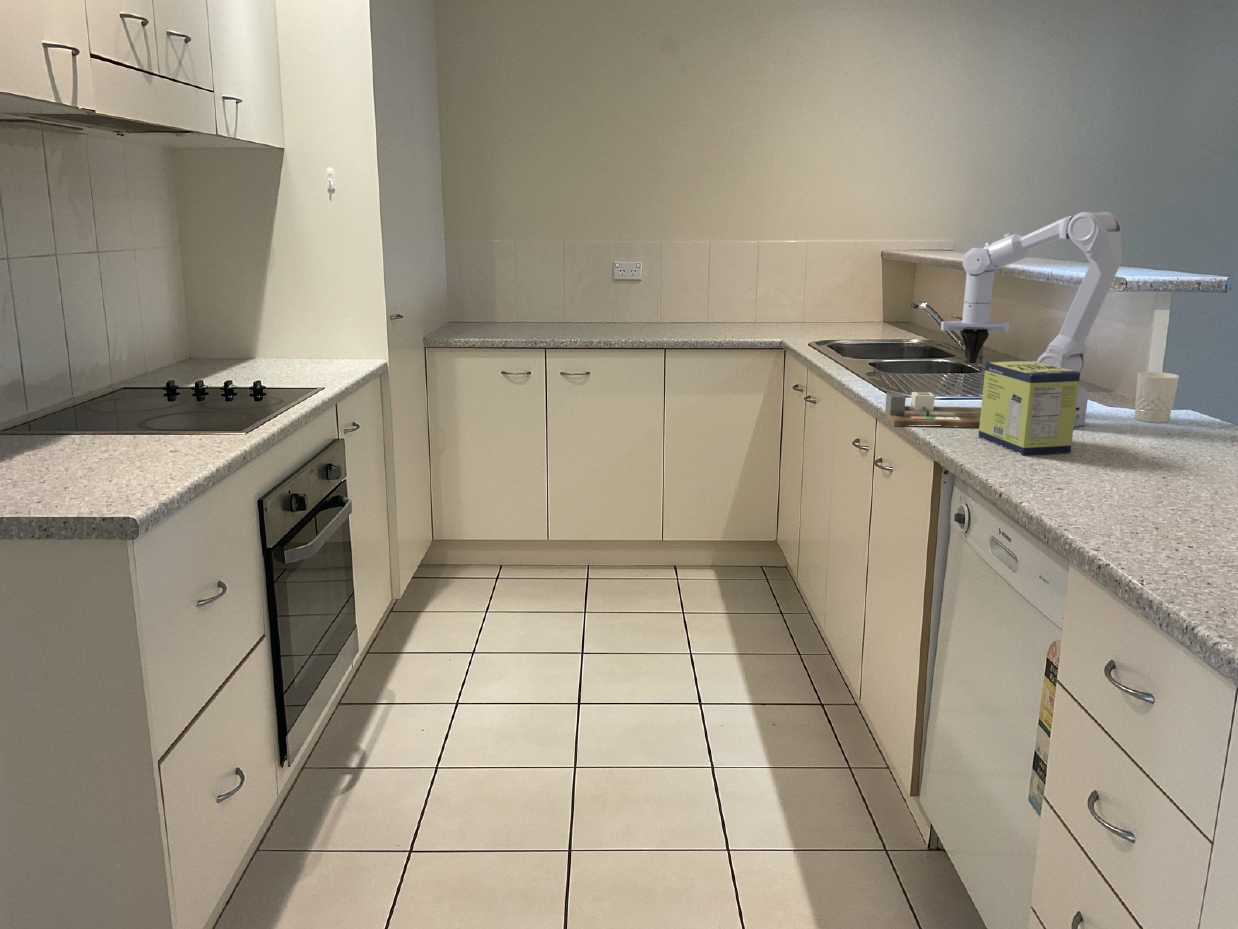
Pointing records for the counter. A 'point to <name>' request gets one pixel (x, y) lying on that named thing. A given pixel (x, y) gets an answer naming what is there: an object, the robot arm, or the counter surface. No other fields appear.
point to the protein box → (1029, 406)
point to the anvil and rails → (897, 407)
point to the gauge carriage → (922, 402)
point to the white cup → (1155, 396)
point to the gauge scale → (935, 418)
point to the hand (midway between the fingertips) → (971, 362)
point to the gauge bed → (933, 421)
